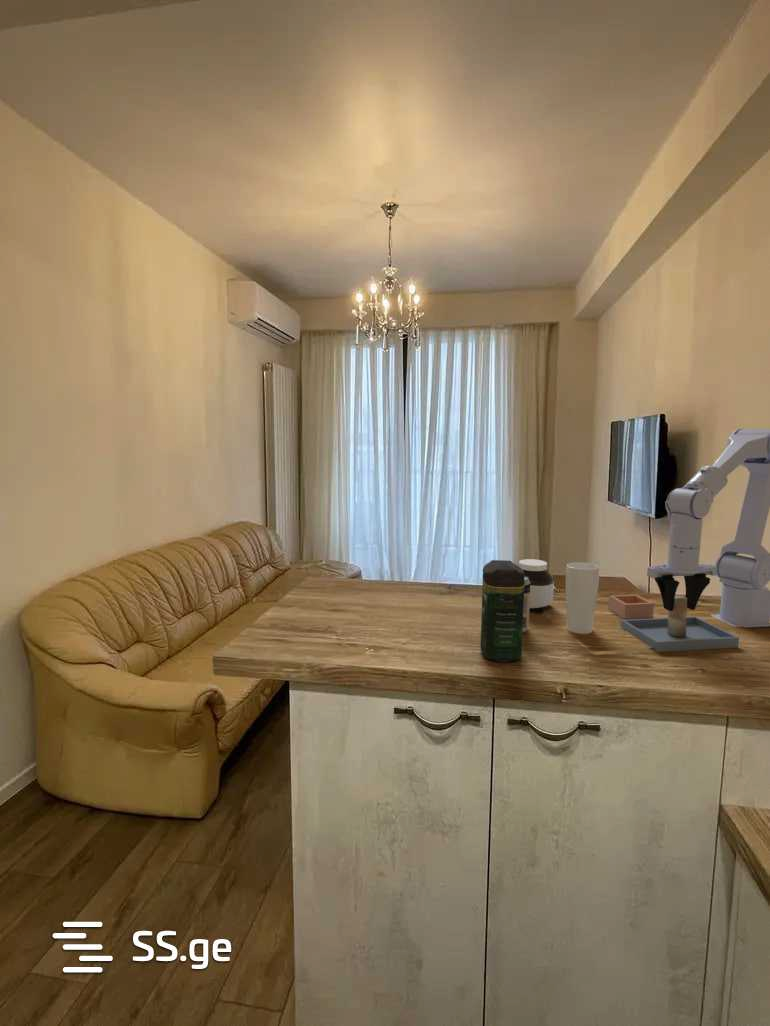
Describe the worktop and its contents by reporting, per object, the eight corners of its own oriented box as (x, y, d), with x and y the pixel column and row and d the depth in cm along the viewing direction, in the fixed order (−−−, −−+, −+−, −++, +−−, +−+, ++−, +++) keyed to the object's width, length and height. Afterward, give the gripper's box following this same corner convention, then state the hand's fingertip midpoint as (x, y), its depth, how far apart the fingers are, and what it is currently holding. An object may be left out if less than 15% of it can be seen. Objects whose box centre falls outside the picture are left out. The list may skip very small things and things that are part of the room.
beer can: (530, 628, 123) (532, 576, 122) (526, 635, 119) (528, 581, 117) (509, 624, 125) (510, 573, 124) (504, 631, 121) (506, 579, 119)
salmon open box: (635, 610, 135) (636, 594, 135) (652, 619, 128) (653, 603, 128) (608, 611, 134) (609, 595, 134) (624, 621, 127) (625, 604, 127)
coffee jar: (525, 664, 104) (529, 569, 102) (483, 663, 105) (485, 568, 102) (516, 644, 114) (519, 557, 111) (478, 643, 115) (480, 556, 112)
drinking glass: (598, 638, 117) (602, 570, 115) (565, 636, 118) (568, 568, 116) (592, 627, 124) (596, 562, 121) (561, 625, 125) (564, 561, 123)
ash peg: (678, 631, 119) (679, 595, 119) (689, 636, 116) (691, 599, 115) (663, 632, 119) (665, 596, 118) (674, 637, 115) (675, 599, 115)
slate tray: (694, 625, 125) (695, 616, 125) (738, 647, 112) (739, 637, 112) (620, 628, 123) (621, 619, 122) (656, 652, 110) (656, 642, 110)
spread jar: (556, 608, 137) (559, 562, 135) (536, 619, 129) (538, 571, 127) (513, 598, 145) (515, 555, 143) (491, 609, 137) (492, 563, 135)
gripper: (702, 541, 119) (697, 601, 121) (640, 543, 117) (636, 604, 119) (726, 548, 112) (720, 612, 114) (661, 550, 110) (656, 615, 113)
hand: (679, 608), depth 116 cm, fingers open, 4 cm apart
